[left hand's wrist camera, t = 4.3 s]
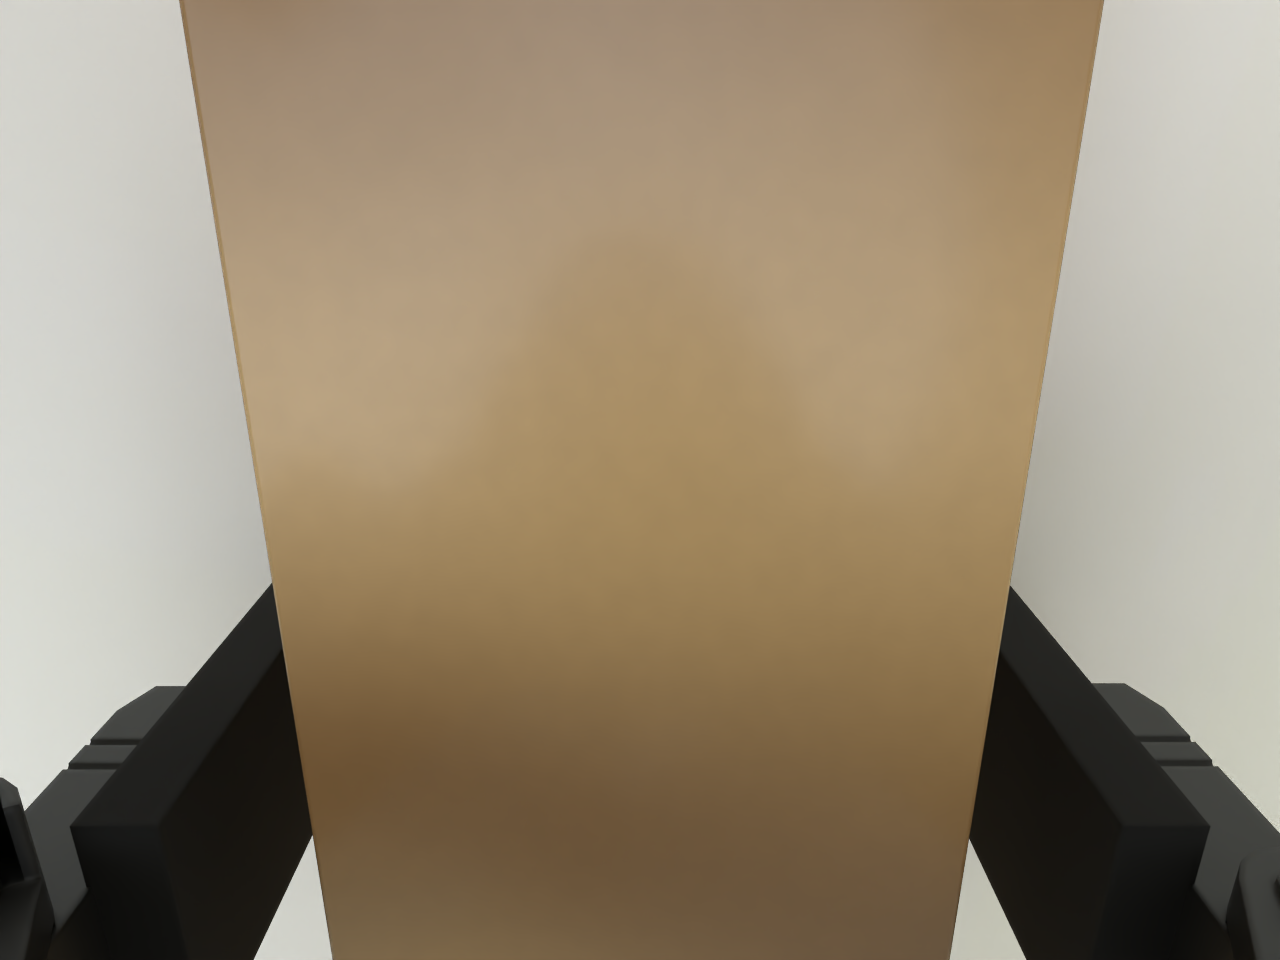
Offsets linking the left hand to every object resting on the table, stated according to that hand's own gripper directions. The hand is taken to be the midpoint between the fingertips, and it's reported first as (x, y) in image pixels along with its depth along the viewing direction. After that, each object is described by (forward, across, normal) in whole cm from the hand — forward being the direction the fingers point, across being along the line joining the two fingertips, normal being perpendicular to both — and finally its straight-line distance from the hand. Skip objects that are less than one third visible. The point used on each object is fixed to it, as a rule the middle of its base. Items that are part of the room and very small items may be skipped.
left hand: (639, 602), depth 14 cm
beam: (+1, 0, -23) cm, 23 cm away
